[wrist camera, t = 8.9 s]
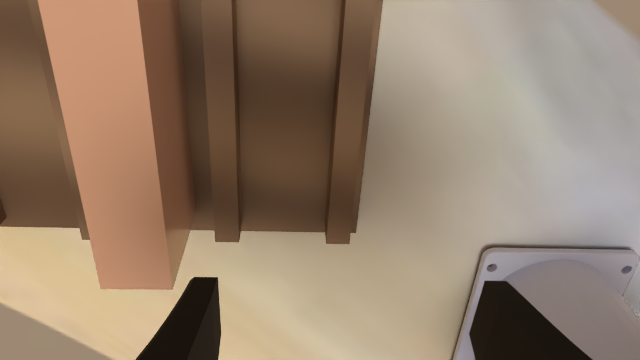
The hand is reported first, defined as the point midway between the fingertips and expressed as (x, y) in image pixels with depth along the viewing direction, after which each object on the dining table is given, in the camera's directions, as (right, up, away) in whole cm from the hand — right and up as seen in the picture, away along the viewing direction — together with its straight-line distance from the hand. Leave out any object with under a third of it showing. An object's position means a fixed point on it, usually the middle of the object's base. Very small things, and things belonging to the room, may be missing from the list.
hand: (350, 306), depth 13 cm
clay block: (-7, +8, +5) cm, 12 cm away
